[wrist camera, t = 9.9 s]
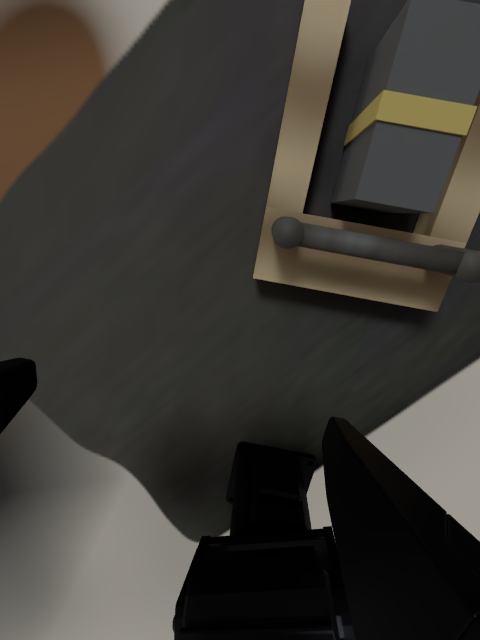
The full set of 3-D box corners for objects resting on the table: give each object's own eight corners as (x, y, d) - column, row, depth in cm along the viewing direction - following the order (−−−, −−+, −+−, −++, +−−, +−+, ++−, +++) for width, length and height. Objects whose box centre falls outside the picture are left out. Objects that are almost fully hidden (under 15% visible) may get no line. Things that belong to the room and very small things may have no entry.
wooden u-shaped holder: (420, 302, 19) (473, 332, 15) (253, 272, 20) (250, 291, 15) (527, 32, 15) (659, -59, 10) (305, -6, 15) (326, -115, 10)
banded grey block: (436, 71, 15) (514, 7, 11) (390, 213, 18) (436, 213, 13) (365, 59, 15) (411, -11, 11) (329, 202, 18) (353, 198, 13)
